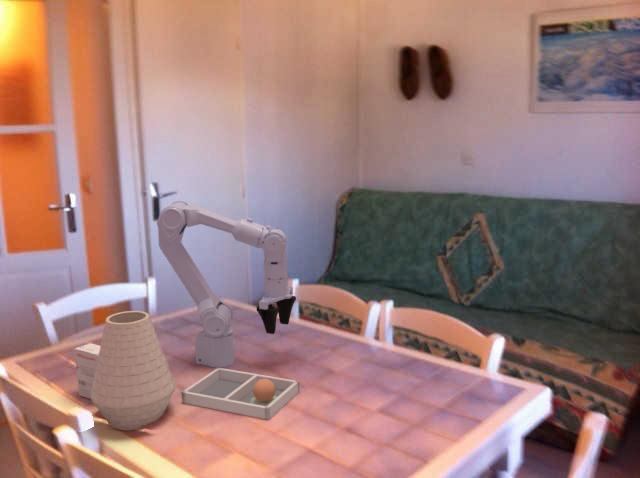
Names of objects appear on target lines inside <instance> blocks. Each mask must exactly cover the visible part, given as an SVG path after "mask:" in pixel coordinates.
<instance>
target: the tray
mask: <svg viewBox="0 0 640 478" xmlns="http://www.w3.org/2000/svg"><path fill="white" fill-rule="evenodd" d="M261 379H268V380H270V381H271V382H273V384H274V386H275V396H277V398H276V399H275V400H273V401H272V402H271V403H270V404H269V405H268V406H261V405H256V404H251V402H250V401H251V399H252V398H253V397H255V396H254V394H253V387H254V385H255V383H256V382H257V381H259V380H261ZM299 393H300V381H299V380H295V379H288V378H284V377H283V378H282V377H277V376H271V375H270V376H269V375H263V374H259V373H253V372H247V371H246V372H245V371H239V370H234V369H227V368H224V367H219V368H215V369H213V371H211V372H209V373H208V374H206V375H205V376H204V377H202V378H201V379H199V380H197V381H196V382H195V383H193V384H192V385H190V386H188V387H187V388H185V389H184V390H183V391H181V404H187V405H192V406H197V407H201V408H206V409H210V410H211V409H212V410H217V411H221V412H225V413H226V412H227V413H232V414H237V415H241V416H247V417H251V418H252V417H253V418H256V419H257V418H258V419H262V420H266V421H269V420H270V419H271V418H273V417H274V416H275V414H277V413H278V412H279V411H280V410H281V409H282V408H284V406H285V405H286V404H288V403H289V402H290V401H291V400H292V399H293V398H294V397H295V396H297V394H299Z"/></svg>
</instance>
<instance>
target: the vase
mask: <svg viewBox="0 0 640 478" xmlns="http://www.w3.org/2000/svg"><path fill="white" fill-rule="evenodd" d="M99 346H100V351H99V356H98V361H97V366H96V370H95V375H94V380H93V385H92V390H91V399H90V400H91V402H92V404H93V405H94V407H96V409H97V410H98V411H99V413H100V414H101V415H102V417H103V418H104V419H105V421H107V423H108V424H109V426H110V427H111V428H113V429H114V430H118V431H123V432H127V431H128V432H130V431H131V432H132V431H139V430H143V429H145V427H143V426H147V425H150V424H152V423H154V422H156V421H158V420H159V419H160V418H161V417H162V416H163V415H164V413H165V411H166V409H167V406H168V405H169V403H170V400H171V399H172V397H173V394H174V392H175V389H176V382H175V379H174V377H173V375H172V372H171V369H170V365H169V364H168V361H167V359H166V356H165V353H164V351H163V348H162V345H161V343H160V339H159V337H158V335H157V332H156V330H155V327H154V325H153V322H152V320H151V317H150V314H149V313H147V312H146V311H143V310H128V311H127V310H126V311H121V312H115V313H113V314H111V315H109V316H107V317H106V318H105V323H104V327H103V332H102V338H101V341H100V345H99Z"/></svg>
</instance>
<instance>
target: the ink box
mask: <svg viewBox="0 0 640 478" xmlns="http://www.w3.org/2000/svg"><path fill="white" fill-rule="evenodd" d="M100 346H101V345H98V344H95V343H91V342H89V343H87V344H85V345H81V346H78V347H75V348H74V349H73V350H74V358H75V367H76V378H77V389H78V396H79V397H83V398H87V399H89V400H91V390H92V385H93V380H94V375H95V370H96V366H97V361H98V356H99V351H100Z"/></svg>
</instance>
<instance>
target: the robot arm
mask: <svg viewBox="0 0 640 478" xmlns="http://www.w3.org/2000/svg"><path fill="white" fill-rule="evenodd" d="M156 225H157V230H158V233H157V234H158V246H159V249H160V250H161V252H162V253H163V255H164V257H165V258H166V259H167V261H168V263H169V264H170V266H171V268H172V269H173V270H174V272H175V274H176V275H177V277H178V279H180V281H181V283H182V285H183V286H184V288H185V289H186V291H187V292H188V294H189V296H190V297H191V298H192V300H193V302H194V303H195V305H196V307H197V312H198V316H199V318H200V320H201V323H202V329H203V330H201V331H199V332H198V333H197V335H196V337H195V340H194V341H195V342H194V348H195V349H194V350H195V363H196V364H197V365H204V366H208V367H211V368H215V369H217V368H226V367H229V366H231V365H233V364H234V363H235V349H234V348H235V347H234V330H233V327H232V326H231V325H230V323H231V322H232V320H233V316H234V314H233V310H232V308H231V307H230V306H229V305H228V304H227V303H225V302H223V301H222V299H221V297H220V296H218V295H217V294H215V293H214V292H213V290H212V288H211V286H209V284H208V282H207V280H206V279H205V277H204V276H203V275H202V272H201V271H200V270H199V268H198V267H197V265H196V263H195V262H194V261H193V258H192V257H191V256H190V254H189V253H188V251H187V248H185V246H184V244H183V243H182V239H183V237H184V232H185V230H186V228H189V227H190V228H191V227H194V226H198V225H204V226H206V227H210V228H213V229H216V230H219V231H222V232H226V233H229V234H231V235H232V236H233V238H234V240H235V241H237V242H239V243H243V244H246V245H248V246H251V247H254V248H257V249H262V251H263V252H264V254H263V256H264V259H263V272H264V273H263V274H264V277H263V279H264V295H263V296H262V298H261V300H259V302H258V306H256V312H258V315H259V316H260V318H261V321H262V322H263V325H264V329H265V333H266V334H270V335H275V333H276V327H277V326H276V325H277V318H278V319H279V324H281V325H289V322H290V318H291V313H292V310H293V306H294V304H295V303H296V300H297V296H295V295H293V294H294V291H293V290H294V289H293V286H288V265H287V263H288V261H287V251H286V246H287V235H286V234H285V232H284V231H283V230H282V229H280V228H278V227H272V226H271V225H268V224H267V225H266V226H265V225H263V224H259V223H257V222H254V219H253V218H250V217H247V219H246V218H241V219H239V220H234V219H232V218H229V217H226V216H224V215H222V214H219V213H216V212H214V211H212V210H209V209H207V208H204V207H202V206H200V205H196V204H194V203H188V202H185V201H184V200H178V201H177V200H176V201H173V202H172V203H171V204H170V205H168V206H166V207H164V208H163V209H162V210H161V211H160V213H159V215H158V218H157V221H156ZM275 303H276V307H274V305H273V304H275Z"/></svg>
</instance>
